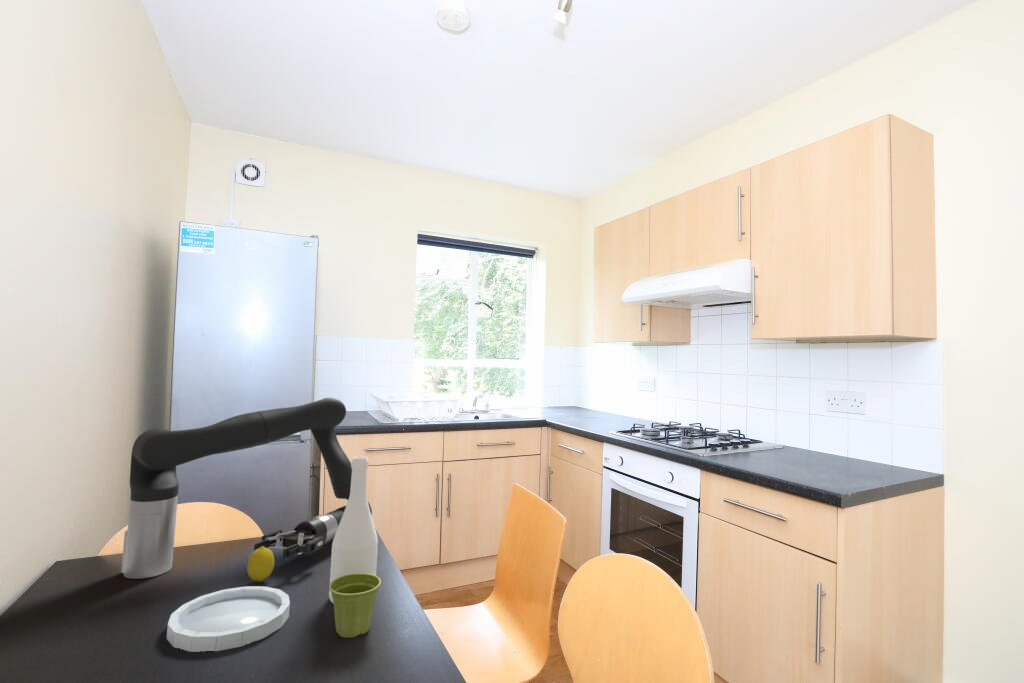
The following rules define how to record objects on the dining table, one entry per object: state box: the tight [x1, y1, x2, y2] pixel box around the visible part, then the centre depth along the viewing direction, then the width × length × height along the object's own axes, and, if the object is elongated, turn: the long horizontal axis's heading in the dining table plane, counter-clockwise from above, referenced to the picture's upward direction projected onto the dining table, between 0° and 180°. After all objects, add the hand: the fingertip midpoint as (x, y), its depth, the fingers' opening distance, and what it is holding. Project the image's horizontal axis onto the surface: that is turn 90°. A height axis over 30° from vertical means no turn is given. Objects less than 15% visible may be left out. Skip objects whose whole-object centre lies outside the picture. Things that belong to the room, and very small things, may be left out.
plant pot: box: [328, 573, 382, 639], centre depth 93 cm, size 9×9×9 cm
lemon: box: [246, 546, 275, 583], centre depth 112 cm, size 6×6×8 cm
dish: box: [166, 585, 291, 653], centre depth 93 cm, size 20×20×2 cm
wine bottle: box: [328, 456, 379, 605], centre depth 106 cm, size 10×10×30 cm
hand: (269, 551), depth 114 cm, fingers open, 8 cm apart
